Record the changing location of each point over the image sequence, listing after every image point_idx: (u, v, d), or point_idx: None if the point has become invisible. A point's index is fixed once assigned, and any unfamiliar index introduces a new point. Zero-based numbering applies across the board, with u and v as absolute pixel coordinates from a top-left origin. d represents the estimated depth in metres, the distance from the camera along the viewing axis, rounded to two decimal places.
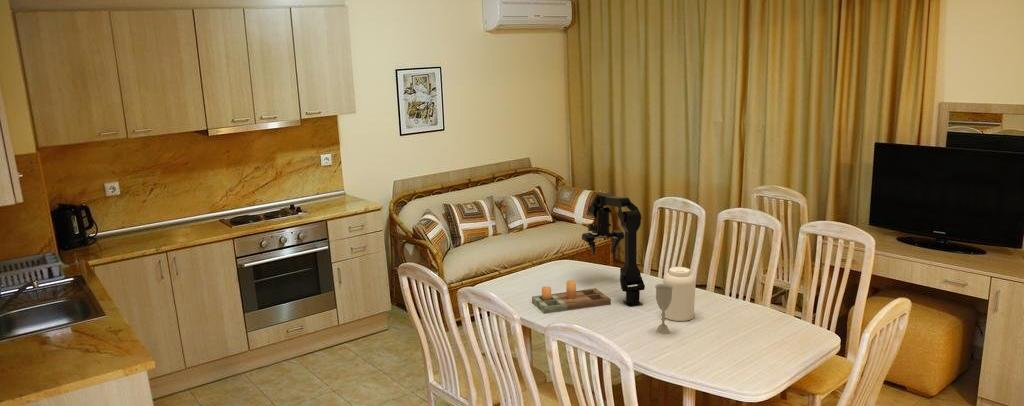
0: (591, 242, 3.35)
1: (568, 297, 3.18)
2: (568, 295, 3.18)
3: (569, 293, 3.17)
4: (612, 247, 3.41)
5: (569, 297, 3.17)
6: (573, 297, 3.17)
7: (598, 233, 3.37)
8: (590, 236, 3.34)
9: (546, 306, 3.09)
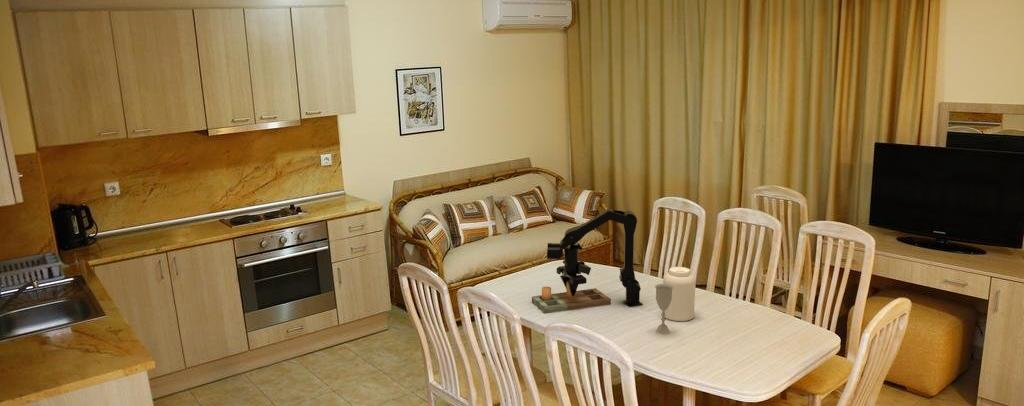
0: (560, 276, 3.21)
1: (568, 297, 3.18)
2: (568, 295, 3.18)
3: (569, 293, 3.17)
4: None
5: (569, 297, 3.17)
6: (573, 297, 3.17)
7: None
8: (558, 268, 3.23)
9: (546, 306, 3.09)
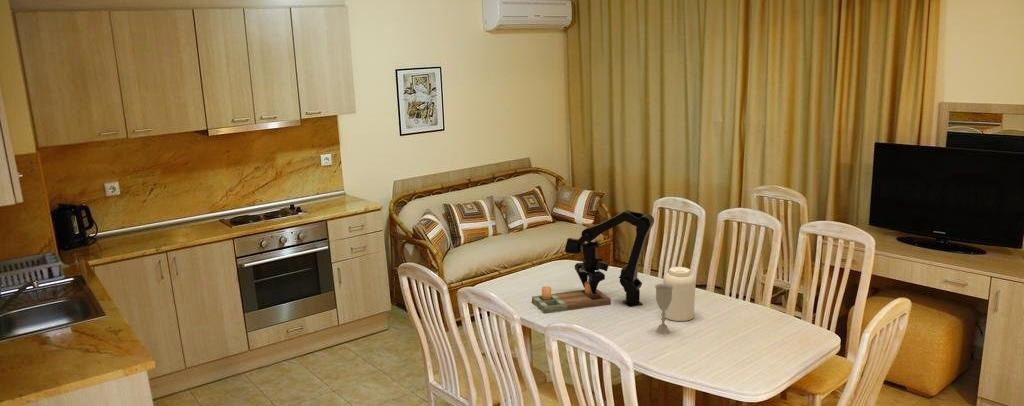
0: (576, 271, 3.29)
1: None
2: None
3: (587, 294, 3.24)
4: None
5: None
6: None
7: None
8: (577, 265, 3.29)
9: (546, 306, 3.09)
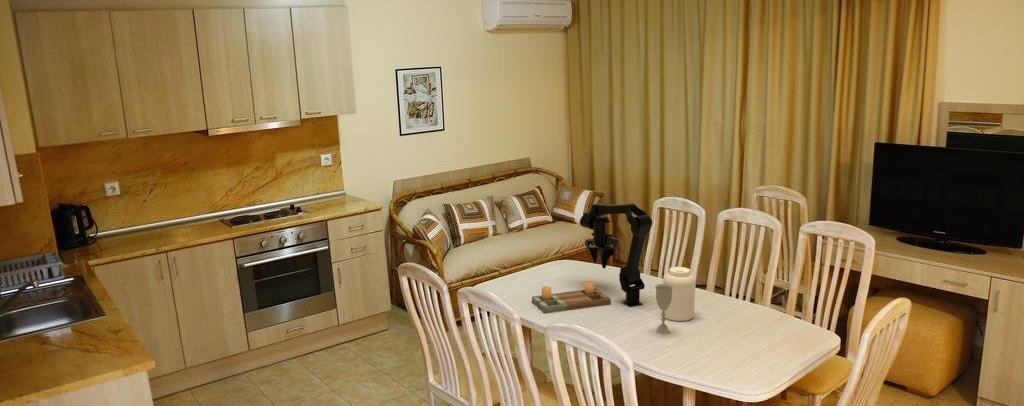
0: (586, 247, 3.36)
1: None
2: None
3: (587, 294, 3.24)
4: None
5: None
6: None
7: None
8: (587, 241, 3.36)
9: (546, 306, 3.09)
